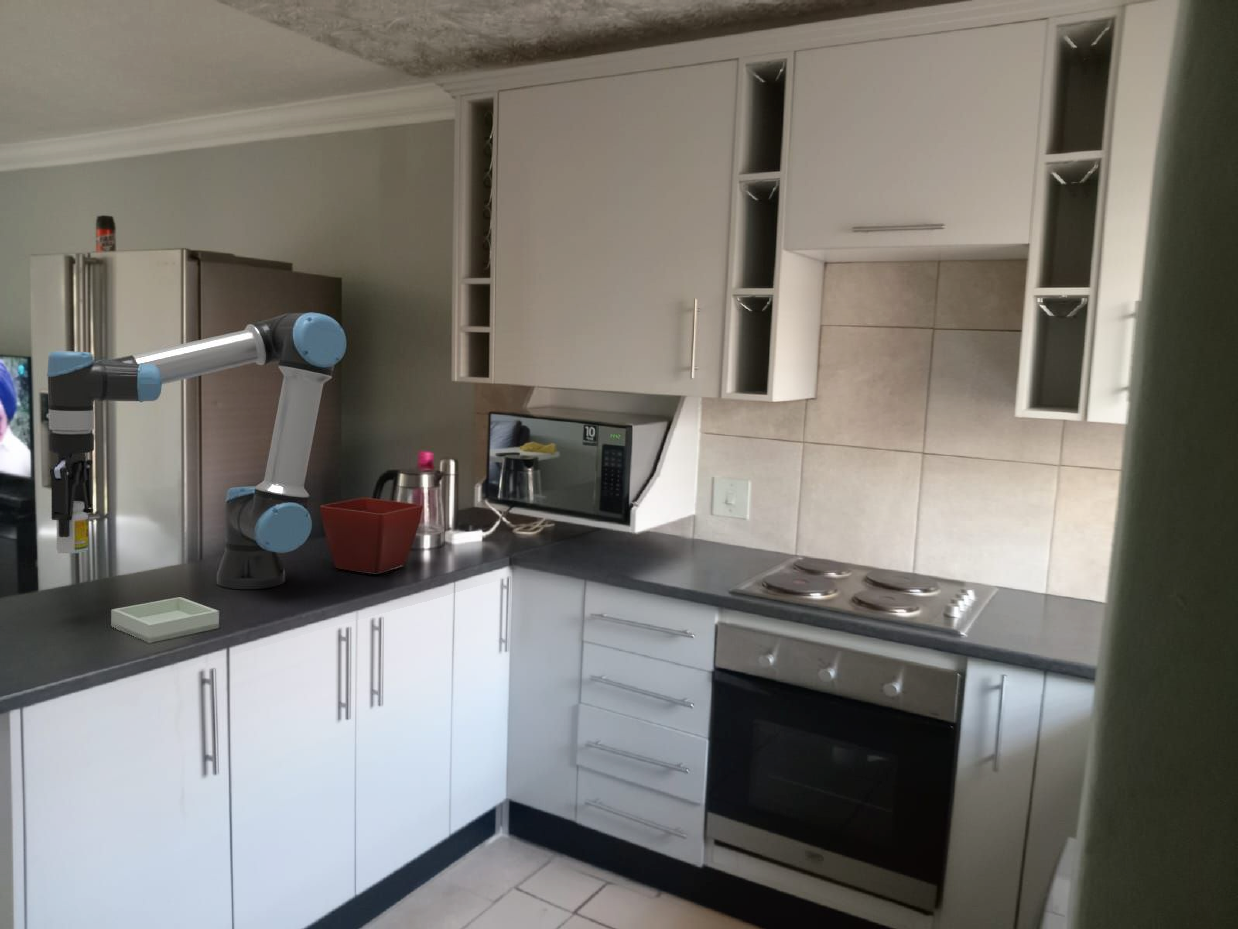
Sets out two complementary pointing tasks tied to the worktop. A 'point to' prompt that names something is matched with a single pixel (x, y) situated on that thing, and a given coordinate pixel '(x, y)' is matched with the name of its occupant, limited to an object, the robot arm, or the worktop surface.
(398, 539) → the plant pot
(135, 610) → the tray
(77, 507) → the supplement bottle
